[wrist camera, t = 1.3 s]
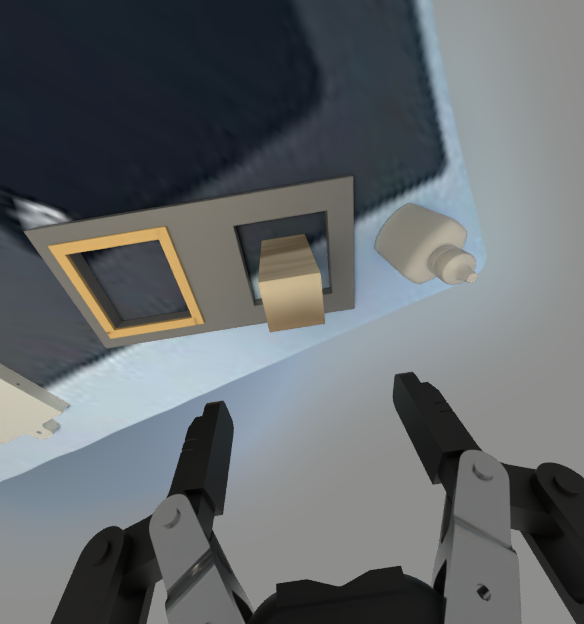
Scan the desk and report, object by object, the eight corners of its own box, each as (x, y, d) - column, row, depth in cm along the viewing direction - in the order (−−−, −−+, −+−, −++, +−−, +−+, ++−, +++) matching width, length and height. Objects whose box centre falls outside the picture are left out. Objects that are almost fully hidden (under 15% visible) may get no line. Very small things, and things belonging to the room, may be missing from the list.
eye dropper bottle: (426, 234, 28) (517, 283, 18) (378, 260, 29) (437, 319, 19) (417, 196, 25) (515, 227, 15) (364, 225, 27) (423, 272, 16)
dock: (36, 227, 24) (20, 232, 23) (348, 175, 24) (354, 176, 22) (112, 340, 32) (104, 350, 30) (351, 302, 31) (355, 310, 30)
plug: (261, 240, 27) (258, 282, 18) (304, 233, 27) (320, 272, 18) (269, 279, 29) (269, 332, 21) (308, 273, 29) (325, 323, 21)
